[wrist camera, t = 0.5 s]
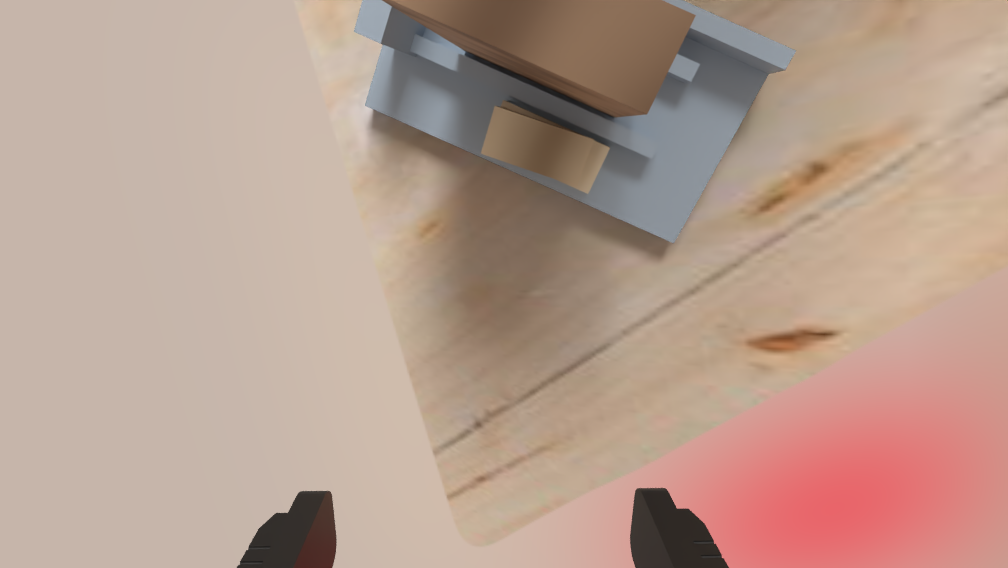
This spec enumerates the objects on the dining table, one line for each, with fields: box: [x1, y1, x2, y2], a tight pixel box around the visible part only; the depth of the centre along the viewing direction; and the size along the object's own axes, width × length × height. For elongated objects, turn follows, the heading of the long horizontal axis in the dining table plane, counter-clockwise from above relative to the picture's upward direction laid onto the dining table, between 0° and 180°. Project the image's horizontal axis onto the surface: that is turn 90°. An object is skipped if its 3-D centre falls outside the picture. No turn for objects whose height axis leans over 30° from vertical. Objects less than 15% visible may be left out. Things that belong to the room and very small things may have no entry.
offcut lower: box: [501, 100, 610, 194], centre depth 31 cm, size 7×3×2 cm, turn 67°
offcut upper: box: [481, 106, 594, 187], centre depth 30 cm, size 6×3×2 cm, turn 72°
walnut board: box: [382, 0, 696, 117], centre depth 23 cm, size 10×3×16 cm, turn 67°
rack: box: [354, 0, 796, 243], centre depth 29 cm, size 22×12×8 cm, turn 67°
